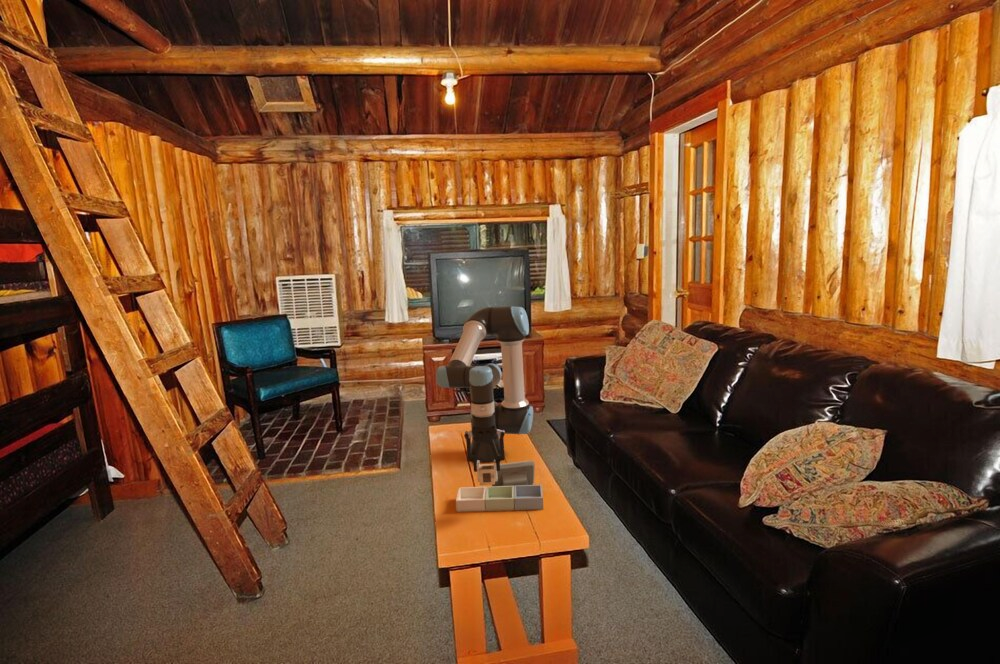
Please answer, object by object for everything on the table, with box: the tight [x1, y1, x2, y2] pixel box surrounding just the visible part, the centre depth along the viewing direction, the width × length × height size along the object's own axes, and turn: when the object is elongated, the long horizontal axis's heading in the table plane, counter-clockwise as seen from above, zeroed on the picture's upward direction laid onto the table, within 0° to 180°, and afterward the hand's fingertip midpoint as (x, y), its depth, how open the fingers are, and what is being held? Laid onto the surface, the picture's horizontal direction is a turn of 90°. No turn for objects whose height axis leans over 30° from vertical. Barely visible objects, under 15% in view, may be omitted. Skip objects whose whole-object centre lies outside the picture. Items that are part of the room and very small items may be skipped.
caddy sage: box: [485, 485, 515, 512], centre depth 185 cm, size 10×10×4 cm
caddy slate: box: [514, 484, 544, 511], centre depth 185 cm, size 10×10×4 cm
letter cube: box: [479, 463, 495, 486], centre depth 177 cm, size 5×5×5 cm
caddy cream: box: [455, 486, 487, 513], centre depth 186 cm, size 10×10×4 cm
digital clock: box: [491, 460, 536, 486], centre depth 196 cm, size 16×9×11 cm, turn 87°
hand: (487, 479), depth 177 cm, fingers closed on letter cube, 5 cm apart
